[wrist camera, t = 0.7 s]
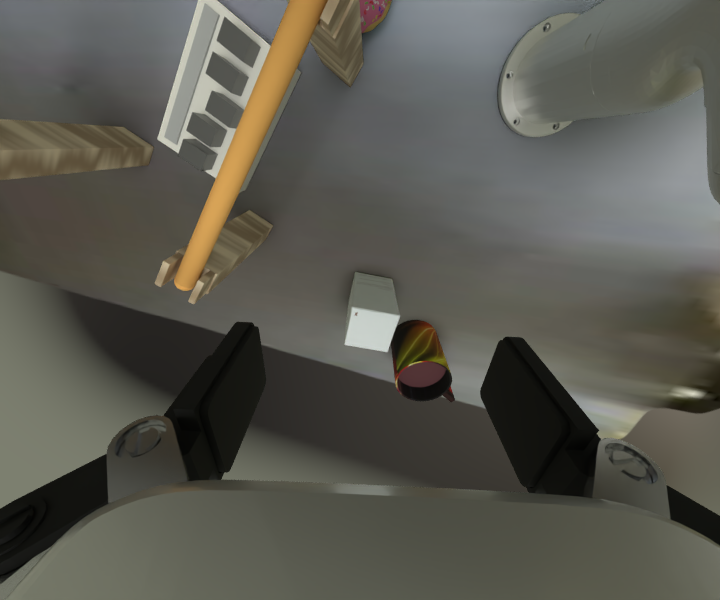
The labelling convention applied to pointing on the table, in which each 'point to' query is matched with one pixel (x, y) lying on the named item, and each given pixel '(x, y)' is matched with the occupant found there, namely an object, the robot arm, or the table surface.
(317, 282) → the table surface
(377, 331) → the supplement box
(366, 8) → the cupcake
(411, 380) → the mug
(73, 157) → the wooden post rack
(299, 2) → the orange cylindrical bar
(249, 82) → the breaker panel
